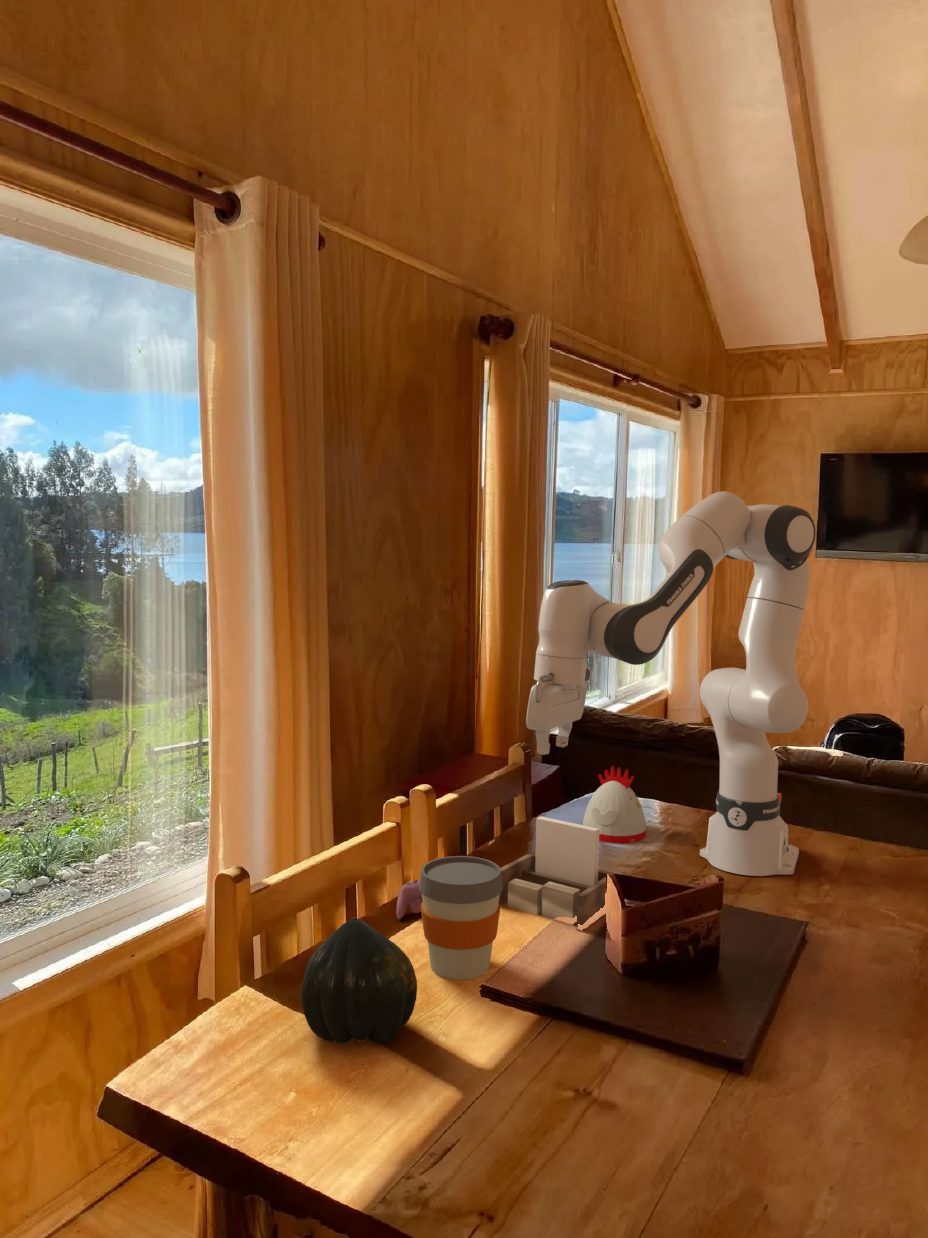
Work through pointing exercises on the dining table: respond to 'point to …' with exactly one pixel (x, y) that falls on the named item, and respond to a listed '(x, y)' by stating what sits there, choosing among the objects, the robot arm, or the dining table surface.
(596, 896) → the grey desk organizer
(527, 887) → the birch offcut
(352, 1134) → the dining table surface
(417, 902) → the video game controller
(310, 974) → the squash
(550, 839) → the white panel
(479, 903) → the reusable coffee cup
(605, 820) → the kitchen timer
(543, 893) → the birch offcut
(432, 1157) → the dining table surface
